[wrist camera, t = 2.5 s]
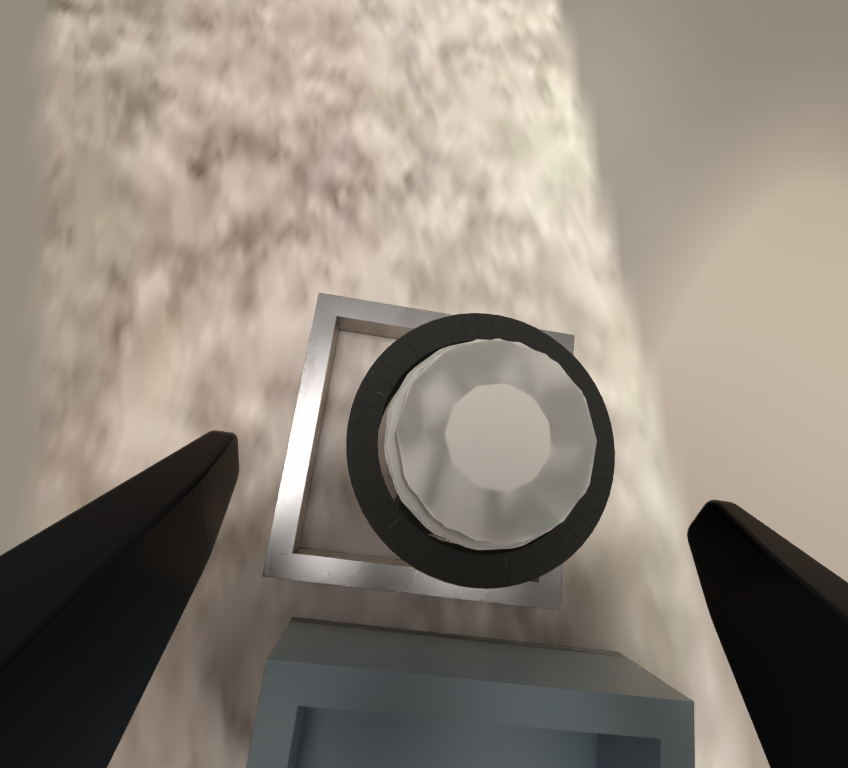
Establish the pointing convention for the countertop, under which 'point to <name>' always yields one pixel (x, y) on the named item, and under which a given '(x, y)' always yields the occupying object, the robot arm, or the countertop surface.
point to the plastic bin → (459, 704)
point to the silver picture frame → (300, 463)
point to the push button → (481, 450)
